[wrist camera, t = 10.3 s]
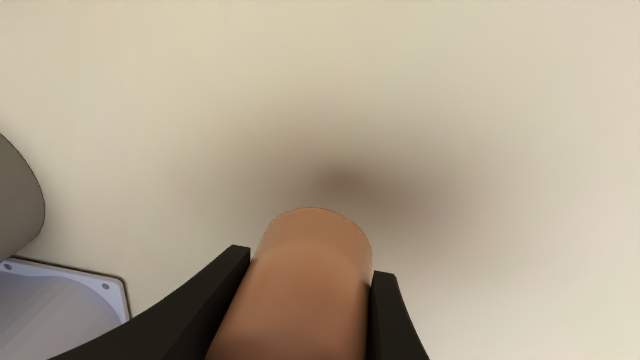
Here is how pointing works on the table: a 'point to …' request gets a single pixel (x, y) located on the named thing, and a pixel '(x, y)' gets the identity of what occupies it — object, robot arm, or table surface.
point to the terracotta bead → (301, 293)
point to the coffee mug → (17, 201)
